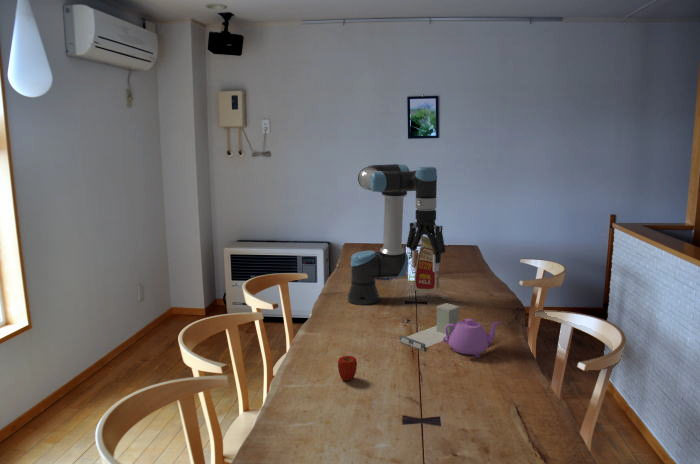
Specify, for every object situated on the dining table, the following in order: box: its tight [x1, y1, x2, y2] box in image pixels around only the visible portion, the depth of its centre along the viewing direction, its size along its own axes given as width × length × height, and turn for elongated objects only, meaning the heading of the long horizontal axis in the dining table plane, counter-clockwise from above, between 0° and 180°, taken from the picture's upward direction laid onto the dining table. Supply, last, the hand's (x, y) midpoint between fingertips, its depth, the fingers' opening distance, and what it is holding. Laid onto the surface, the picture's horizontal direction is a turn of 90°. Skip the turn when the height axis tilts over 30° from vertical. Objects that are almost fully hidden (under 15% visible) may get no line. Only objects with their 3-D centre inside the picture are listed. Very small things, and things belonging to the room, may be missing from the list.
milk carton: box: [413, 235, 441, 292], centre depth 201 cm, size 9×9×20 cm
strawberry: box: [337, 355, 358, 382], centre depth 173 cm, size 6×6×8 cm
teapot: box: [442, 317, 501, 359], centre depth 193 cm, size 20×14×12 cm
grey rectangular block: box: [436, 302, 460, 335], centre depth 211 cm, size 6×6×10 cm
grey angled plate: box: [398, 325, 450, 352], centre depth 207 cm, size 12×24×3 cm, turn 131°
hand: (425, 269), depth 201 cm, fingers closed on milk carton, 9 cm apart
